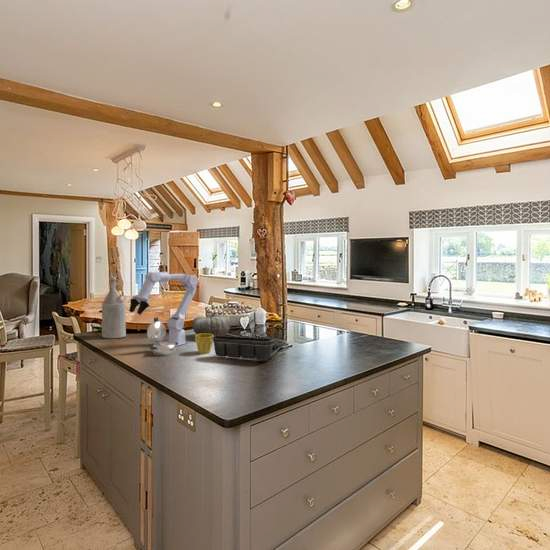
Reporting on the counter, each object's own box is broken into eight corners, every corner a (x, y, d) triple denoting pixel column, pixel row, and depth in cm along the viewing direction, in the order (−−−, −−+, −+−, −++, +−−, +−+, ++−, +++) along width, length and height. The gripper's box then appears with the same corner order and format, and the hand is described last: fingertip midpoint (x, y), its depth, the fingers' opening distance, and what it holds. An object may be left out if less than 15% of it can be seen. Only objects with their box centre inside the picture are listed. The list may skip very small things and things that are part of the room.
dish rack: (208, 358, 210) (209, 336, 209) (239, 342, 252) (240, 323, 252) (269, 365, 200) (269, 341, 200) (291, 346, 243) (291, 327, 242)
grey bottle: (117, 339, 251) (118, 277, 249) (96, 337, 257) (96, 276, 255) (131, 336, 263) (131, 276, 261) (111, 334, 269) (111, 276, 267)
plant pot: (209, 355, 217) (209, 337, 217) (192, 353, 219) (192, 336, 219) (216, 350, 227) (216, 334, 227) (199, 349, 229) (199, 333, 229)
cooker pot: (169, 348, 230) (170, 340, 229) (183, 352, 223) (183, 343, 222) (144, 354, 216) (144, 345, 216) (158, 357, 209) (158, 348, 209)
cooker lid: (166, 341, 227) (165, 340, 228) (165, 316, 228) (164, 316, 228) (148, 344, 218) (147, 344, 218) (147, 318, 218) (146, 318, 218)
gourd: (221, 338, 249) (218, 311, 251) (186, 341, 256) (184, 315, 258) (236, 335, 273) (234, 310, 274) (204, 338, 280) (202, 314, 281)
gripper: (132, 286, 227) (121, 308, 223) (147, 289, 218) (136, 312, 214) (142, 291, 232) (131, 313, 228) (157, 295, 223) (146, 317, 219)
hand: (134, 313), depth 221 cm, fingers open, 7 cm apart
